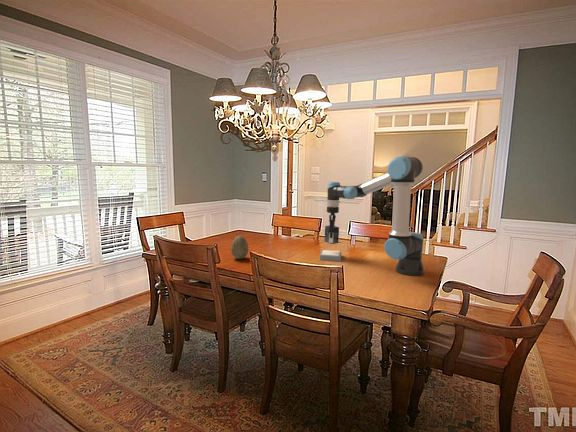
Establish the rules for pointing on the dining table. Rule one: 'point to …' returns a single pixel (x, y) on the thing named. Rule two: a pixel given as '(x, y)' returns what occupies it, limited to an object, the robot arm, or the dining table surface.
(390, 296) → the dining table surface
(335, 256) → the plinth
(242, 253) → the decorative egg
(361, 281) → the dining table surface
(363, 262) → the dining table surface
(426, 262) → the dining table surface
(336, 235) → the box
